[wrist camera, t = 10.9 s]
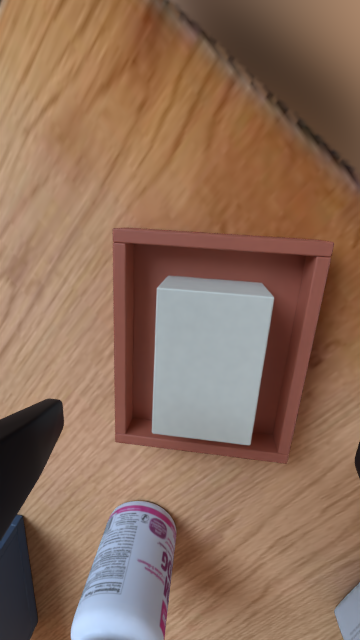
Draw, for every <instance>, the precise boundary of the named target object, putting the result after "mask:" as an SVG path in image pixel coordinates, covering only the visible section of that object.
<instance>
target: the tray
mask: <svg viewBox="0 0 360 640" xmlns="http://www.w3.org/2000/svg"><path fill="white" fill-rule="evenodd" d="M113 242H114V243H113V295H114V376H115V442H119V443H127V444H134V445H142V446H150V447H158V448H166V449H174V450H182V451H190V452H198V453H206V454H214V455H222V456H230V457H238V458H246V459H253V460H261V461H269V462H277V463H285V464H286V463H287V462H288V457H289V452H290V448H291V443H292V438H293V434H294V429H295V424H296V420H297V415H298V410H299V406H300V401H301V396H302V392H303V387H304V382H305V378H306V373H307V368H308V364H309V359H310V354H311V350H312V345H313V340H314V336H315V331H316V326H317V322H318V317H319V312H320V308H321V303H322V298H323V294H324V289H325V284H326V280H327V275H328V270H329V266H330V261H331V258H330V257H331V256H332V252H333V247H334V243H333V242H329V241H322V240H313V239H297V238H281V237H265V236H250V235H234V234H218V233H203V232H187V231H171V230H155V229H140V228H113ZM167 276H181V277H194V278H207V279H219V280H232V281H245V282H258V283H263V285H264V286H265V287H266V288H267V289H268V291H269V292H270V293H271V294H272V295H273V297H274V304H273V310H272V316H271V323H270V329H269V335H268V341H267V347H266V353H265V359H264V365H263V372H262V378H261V384H260V390H259V396H258V402H257V408H256V414H255V421H254V427H253V433H252V439H251V444H250V445H241V444H233V443H225V442H217V441H209V440H201V439H193V438H184V437H176V436H168V435H160V434H153V433H152V410H153V382H154V353H155V325H156V296H157V288H158V286H159V285H160V284H161V283H162V282H163V281H164V280H165V279H166V277H167Z"/></svg>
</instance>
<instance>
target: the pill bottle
mask: <svg viewBox="0 0 360 640" xmlns="http://www.w3.org/2000/svg"><path fill="white" fill-rule="evenodd" d="M175 543H176V526H175V523H174V521H173V519H172V518H171V516H170V515H169V514H168V513H167V512H166V511H165V510H164V509H163V508H161V507H160V506H158V505H156V504H153V503H150V502H146V501H131V502H127V503H124V504H121V505H120V506H118V507H117V508H116V509H115V510H114V511H113V512H112V514H111V516H110V518H109V520H108V522H107V525H106V528H105V531H104V534H103V537H102V540H101V542H100V545H99V548H98V551H97V554H96V556H95V559H94V562H93V565H92V568H91V571H90V574H89V576H88V579H87V582H86V585H85V588H84V590H83V593H82V596H81V599H80V602H79V604H78V607H77V610H76V613H75V616H74V619H73V623H72V627H71V640H164V637H165V628H166V619H167V610H168V602H169V593H170V584H171V576H172V567H173V559H174V551H175Z"/></svg>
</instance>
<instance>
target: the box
mask: <svg viewBox="0 0 360 640" xmlns="http://www.w3.org/2000/svg"><path fill="white" fill-rule="evenodd" d="M37 622H38V617H37V611H36V604H35V597H34V590H33V583H32V576H31V569H30V562H29V555H28V549H27V542H26V535H25V528H24V521H23V516H21V515H16V517H15V518H14V520H13V522H12V523H11V525H10V527H9V528H8V530H7V531H6V533H5V535H4V536H3V538H2V540H1V541H0V640H30V638H31V636H32V634H33V631H34V629H35V627H36V625H37Z"/></svg>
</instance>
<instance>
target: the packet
mask: <svg viewBox="0 0 360 640" xmlns="http://www.w3.org/2000/svg"><path fill="white" fill-rule="evenodd" d="M273 304H274V297H273V295H272V294H271V293H270V292H269V291H268V289H267V288H266V287H265V286H264V285H263V283H258V282H245V281H232V280H219V279H207V278H194V277H181V276H167V277H166V279H165V280H164V281H163V282H162V283H161V284H160V285H159V286H158V288H157V296H156V325H155V353H154V382H153V410H152V433H153V434H160V435H168V436H176V437H184V438H193V439H201V440H209V441H217V442H225V443H233V444H241V445H250V444H251V439H252V433H253V427H254V421H255V414H256V408H257V402H258V396H259V390H260V384H261V378H262V372H263V365H264V359H265V353H266V347H267V341H268V335H269V329H270V323H271V316H272V310H273Z"/></svg>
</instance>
